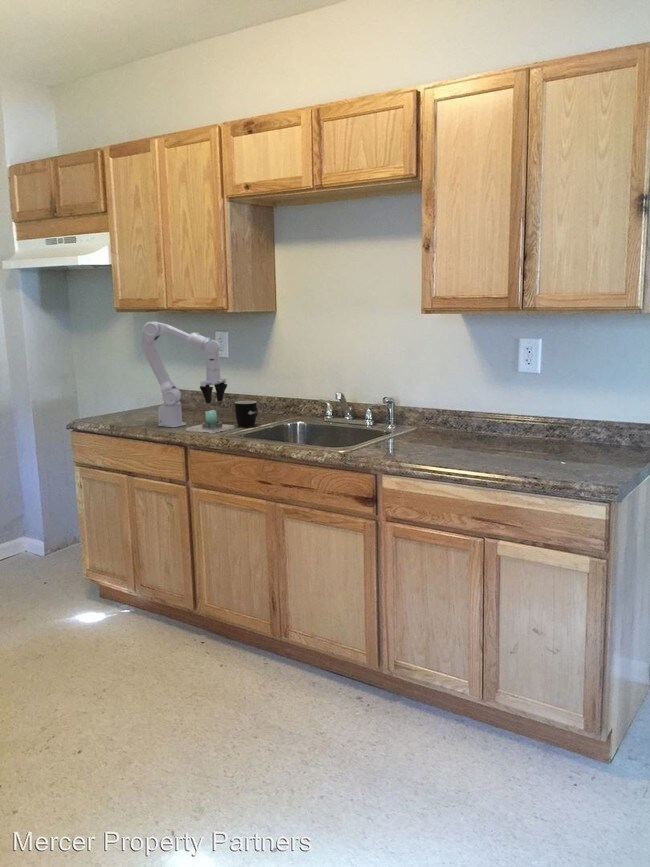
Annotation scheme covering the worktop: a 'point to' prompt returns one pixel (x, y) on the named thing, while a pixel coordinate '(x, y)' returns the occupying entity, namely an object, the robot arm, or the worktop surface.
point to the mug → (246, 413)
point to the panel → (210, 427)
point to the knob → (211, 417)
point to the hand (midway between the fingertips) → (214, 402)
